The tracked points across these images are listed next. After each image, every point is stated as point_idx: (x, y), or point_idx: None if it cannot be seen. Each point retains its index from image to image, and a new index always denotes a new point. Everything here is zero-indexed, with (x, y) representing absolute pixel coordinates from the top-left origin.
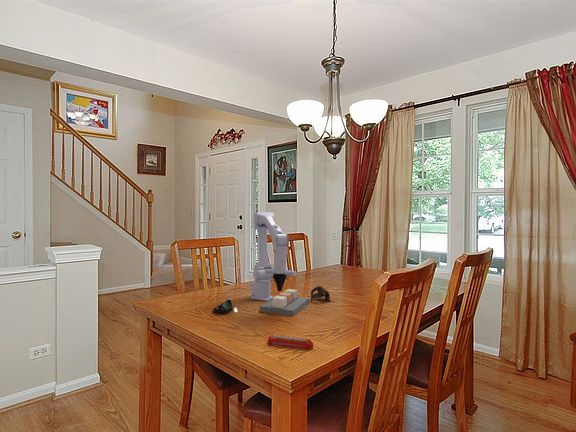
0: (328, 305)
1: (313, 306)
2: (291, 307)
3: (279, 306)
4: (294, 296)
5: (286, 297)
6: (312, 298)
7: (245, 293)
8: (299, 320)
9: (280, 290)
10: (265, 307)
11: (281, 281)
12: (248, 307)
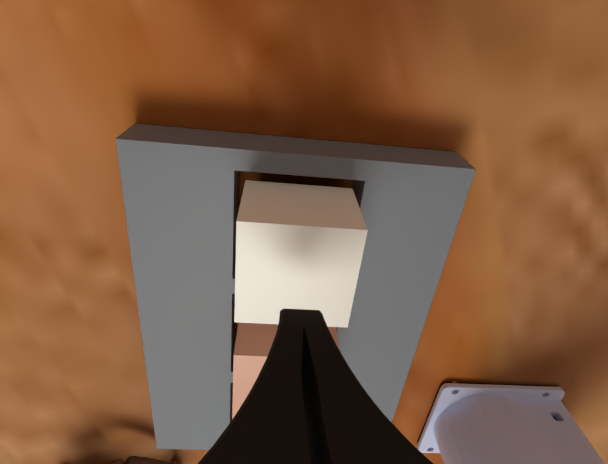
0: (29, 414)
1: (107, 375)
2: (176, 223)
3: (278, 188)
4: None
5: (235, 309)
6: (150, 461)
7: None
8: (22, 21)
9: (280, 317)
10: (414, 162)
11: (243, 419)
12: (562, 228)
